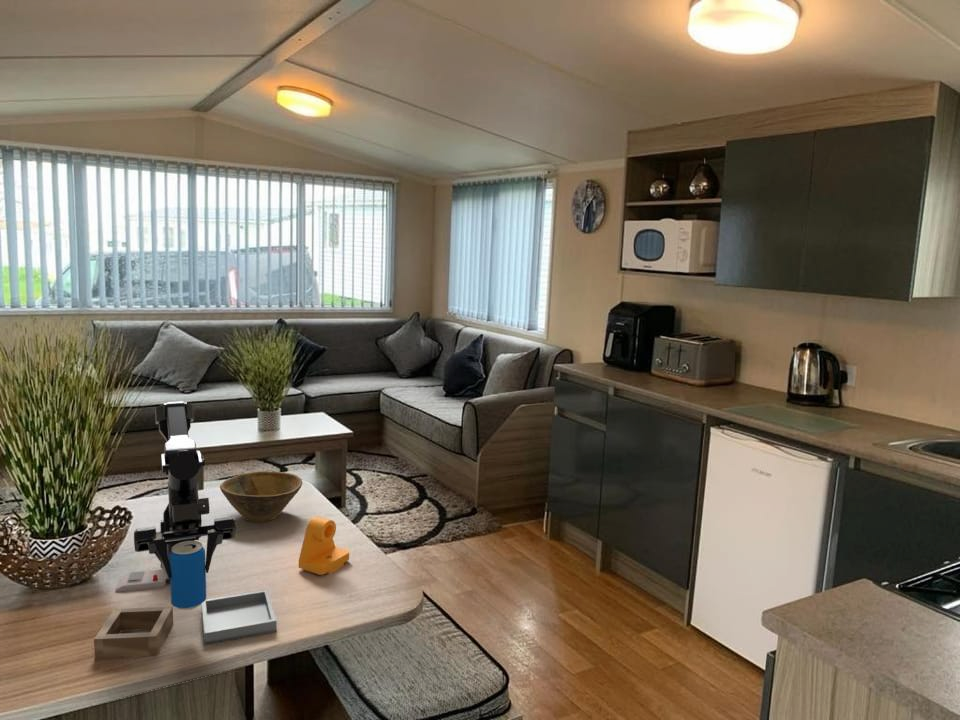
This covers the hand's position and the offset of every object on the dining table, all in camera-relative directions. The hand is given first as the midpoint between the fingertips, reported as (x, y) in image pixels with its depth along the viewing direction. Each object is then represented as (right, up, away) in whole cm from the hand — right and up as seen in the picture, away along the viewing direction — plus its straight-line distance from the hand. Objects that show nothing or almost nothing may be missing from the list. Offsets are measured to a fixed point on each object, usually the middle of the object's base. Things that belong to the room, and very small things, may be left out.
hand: (188, 575), depth 135 cm
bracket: (+19, -9, +35) cm, 41 cm away
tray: (+7, -12, +9) cm, 16 cm away
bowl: (-6, -3, +64) cm, 64 cm away
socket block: (-10, -13, 0) cm, 17 cm away
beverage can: (-1, -7, +2) cm, 7 cm away
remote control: (-19, -9, +24) cm, 32 cm away
